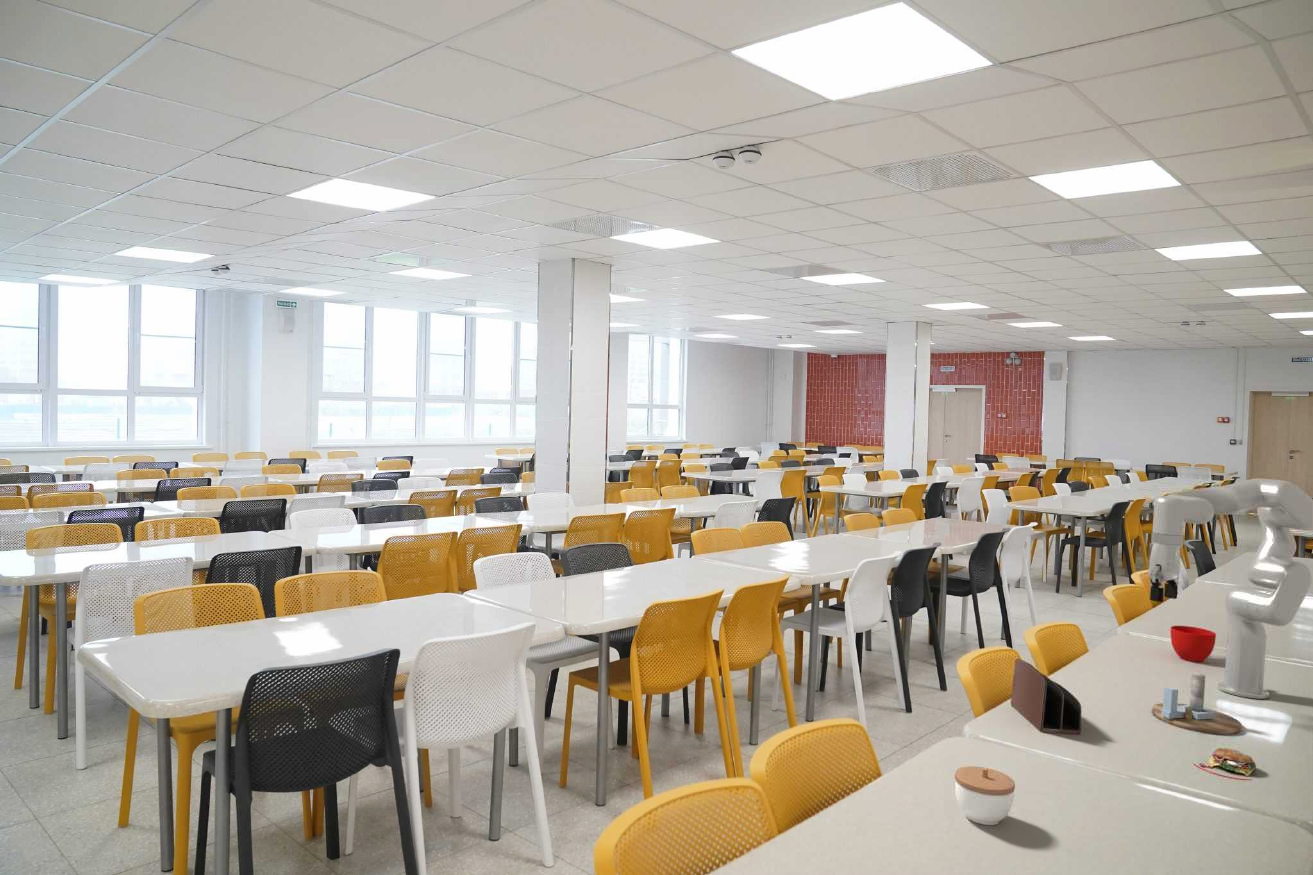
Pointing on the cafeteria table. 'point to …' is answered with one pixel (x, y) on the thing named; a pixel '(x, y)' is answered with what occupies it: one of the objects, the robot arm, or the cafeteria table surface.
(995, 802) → the lidded jar
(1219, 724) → the post base
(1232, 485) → the robot arm
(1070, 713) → the letter holder
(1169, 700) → the blue square ring handle
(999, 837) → the cafeteria table surface
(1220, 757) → the hamburger
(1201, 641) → the red bowl
